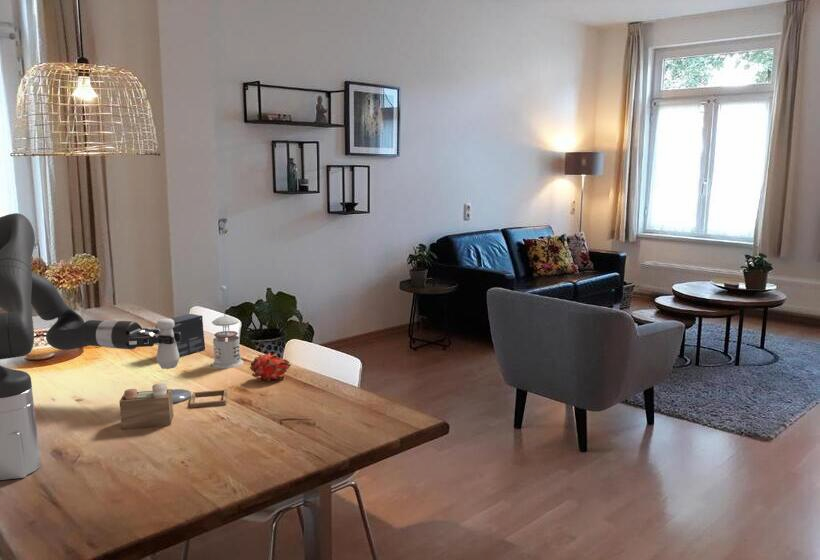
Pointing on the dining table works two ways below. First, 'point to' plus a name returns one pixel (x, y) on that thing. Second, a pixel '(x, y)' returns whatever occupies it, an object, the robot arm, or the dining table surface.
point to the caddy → (146, 407)
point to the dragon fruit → (269, 366)
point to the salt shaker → (167, 346)
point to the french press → (226, 349)
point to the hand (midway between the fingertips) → (176, 338)
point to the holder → (211, 403)
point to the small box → (189, 334)
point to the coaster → (180, 395)
